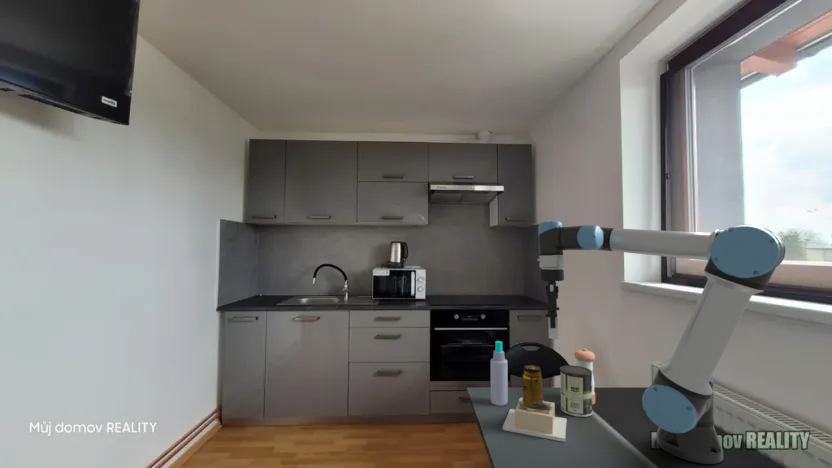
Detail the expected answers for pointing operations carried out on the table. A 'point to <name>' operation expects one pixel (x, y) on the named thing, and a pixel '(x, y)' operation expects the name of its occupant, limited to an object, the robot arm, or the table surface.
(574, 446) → the table surface
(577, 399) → the coffee can
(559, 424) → the structure base
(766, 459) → the table surface
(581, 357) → the pepper shaker
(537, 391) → the condiment
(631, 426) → the table surface
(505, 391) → the spray bottle
